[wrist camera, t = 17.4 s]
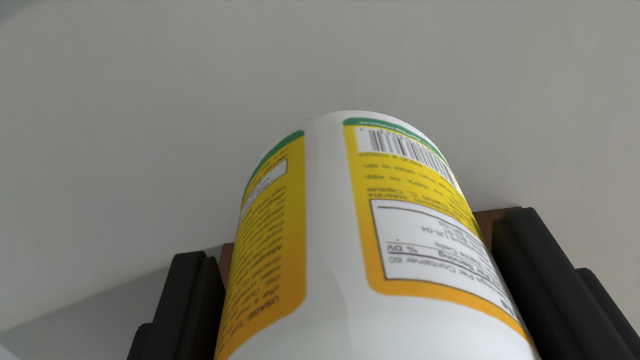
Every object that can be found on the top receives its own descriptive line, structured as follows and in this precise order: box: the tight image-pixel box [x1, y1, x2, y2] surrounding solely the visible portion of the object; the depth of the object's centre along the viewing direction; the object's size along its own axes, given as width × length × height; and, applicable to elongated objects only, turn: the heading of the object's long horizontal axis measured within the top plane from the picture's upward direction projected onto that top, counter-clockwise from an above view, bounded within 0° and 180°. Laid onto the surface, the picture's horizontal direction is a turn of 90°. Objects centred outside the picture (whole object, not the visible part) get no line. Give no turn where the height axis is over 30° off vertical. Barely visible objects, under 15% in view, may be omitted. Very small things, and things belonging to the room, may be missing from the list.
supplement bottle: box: [213, 111, 542, 360], centre depth 10 cm, size 5×5×10 cm
